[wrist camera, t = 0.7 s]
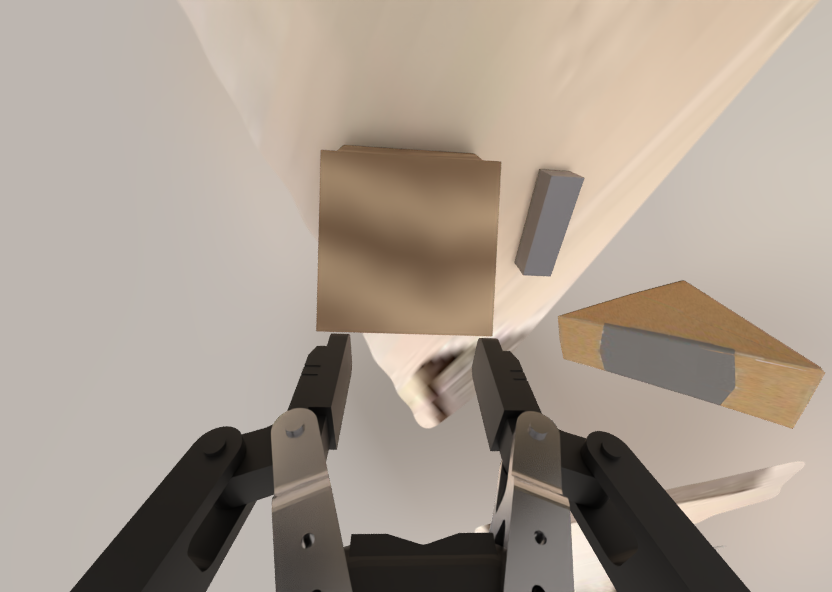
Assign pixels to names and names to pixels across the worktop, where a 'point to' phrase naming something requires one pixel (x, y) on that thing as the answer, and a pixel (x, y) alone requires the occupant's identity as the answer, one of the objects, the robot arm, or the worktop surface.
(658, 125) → the worktop surface
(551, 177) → the gray rectangular block
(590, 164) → the worktop surface
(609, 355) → the sandwich container
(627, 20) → the worktop surface
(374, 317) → the lid
